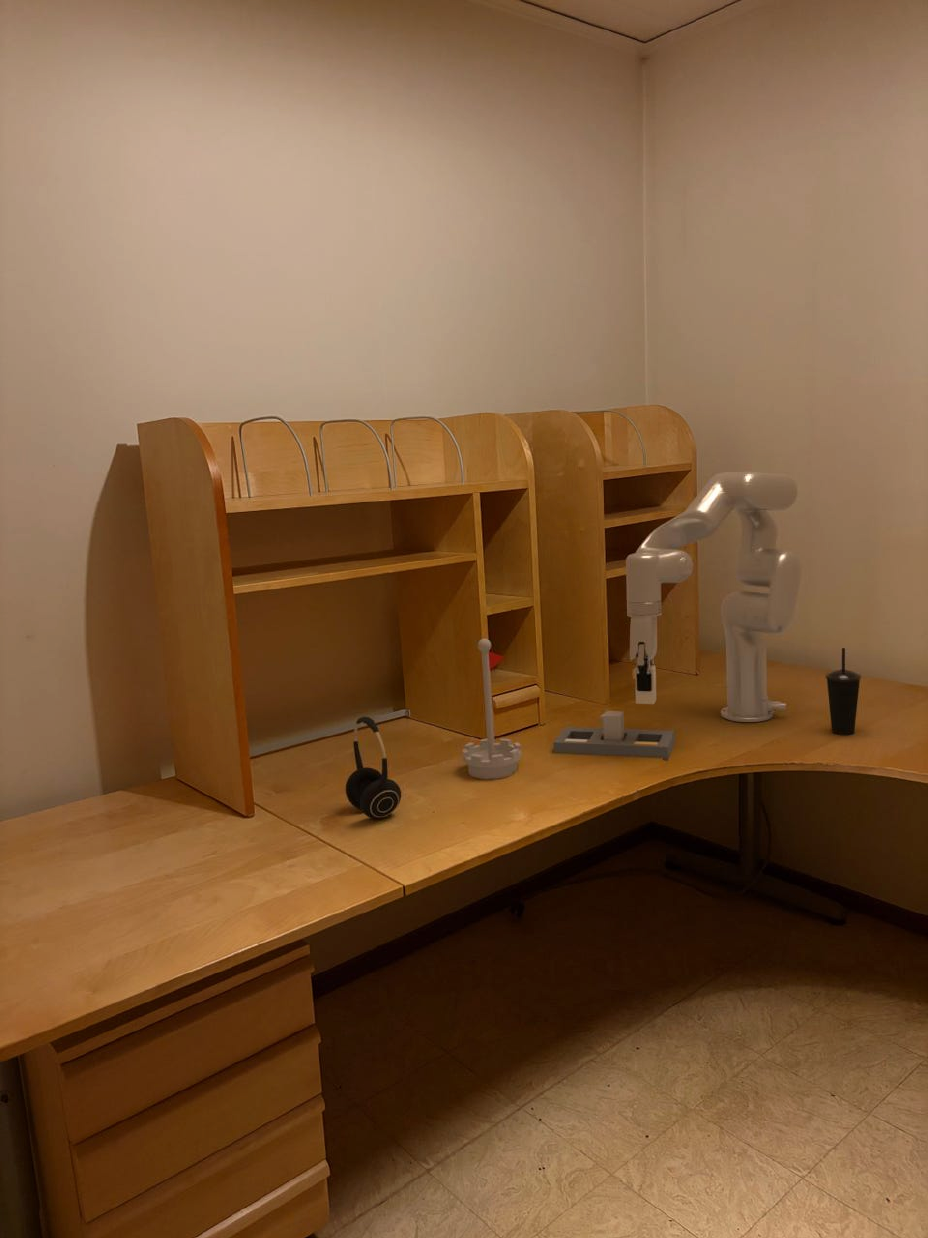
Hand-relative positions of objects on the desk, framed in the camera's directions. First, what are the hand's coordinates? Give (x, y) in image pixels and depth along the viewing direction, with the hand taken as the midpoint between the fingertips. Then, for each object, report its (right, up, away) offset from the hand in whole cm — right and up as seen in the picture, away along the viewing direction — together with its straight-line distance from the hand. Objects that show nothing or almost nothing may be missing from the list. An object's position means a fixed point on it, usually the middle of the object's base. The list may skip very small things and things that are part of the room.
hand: (645, 687), depth 211 cm
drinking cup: (+47, -11, +6) cm, 49 cm away
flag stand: (-35, -18, -3) cm, 39 cm away
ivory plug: (0, -3, +1) cm, 3 cm away
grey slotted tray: (-6, -15, +6) cm, 17 cm away
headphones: (-59, -24, -23) cm, 68 cm away
